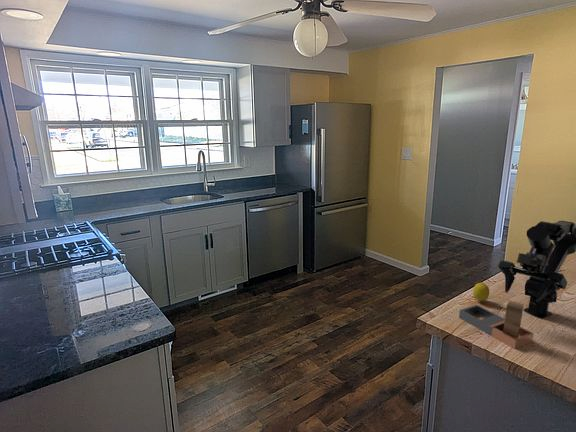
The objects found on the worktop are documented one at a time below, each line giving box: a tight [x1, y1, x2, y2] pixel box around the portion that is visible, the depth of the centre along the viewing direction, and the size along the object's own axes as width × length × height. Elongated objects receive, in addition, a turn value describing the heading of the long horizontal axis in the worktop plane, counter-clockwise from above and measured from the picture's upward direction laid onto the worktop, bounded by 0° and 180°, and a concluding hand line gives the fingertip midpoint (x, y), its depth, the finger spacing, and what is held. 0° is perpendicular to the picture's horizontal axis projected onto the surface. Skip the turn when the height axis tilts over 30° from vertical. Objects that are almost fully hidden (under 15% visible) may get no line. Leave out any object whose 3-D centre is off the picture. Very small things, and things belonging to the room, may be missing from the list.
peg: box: [503, 300, 525, 338], centre depth 115 cm, size 4×4×12 cm
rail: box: [458, 304, 535, 350], centre depth 122 cm, size 8×21×3 cm, turn 24°
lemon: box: [472, 282, 490, 302], centre depth 139 cm, size 6×6×8 cm
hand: (521, 296), depth 117 cm, fingers open, 9 cm apart
